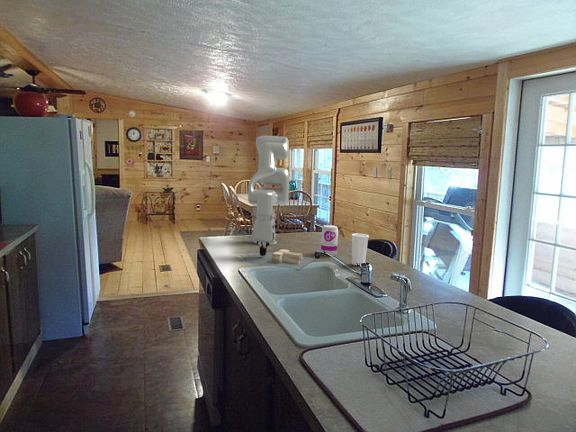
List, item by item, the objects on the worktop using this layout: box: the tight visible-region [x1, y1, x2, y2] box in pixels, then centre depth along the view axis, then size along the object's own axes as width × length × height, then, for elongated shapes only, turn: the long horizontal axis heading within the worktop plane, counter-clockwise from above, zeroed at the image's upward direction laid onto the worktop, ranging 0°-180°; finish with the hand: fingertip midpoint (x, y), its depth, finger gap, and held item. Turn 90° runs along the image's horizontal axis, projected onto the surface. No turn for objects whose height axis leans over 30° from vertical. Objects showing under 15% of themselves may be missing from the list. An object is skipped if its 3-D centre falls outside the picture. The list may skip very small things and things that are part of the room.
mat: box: [238, 250, 317, 271], centre depth 206 cm, size 24×30×1 cm
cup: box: [351, 233, 370, 266], centre depth 203 cm, size 8×8×14 cm
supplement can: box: [320, 224, 339, 257], centre depth 221 cm, size 8×8×15 cm
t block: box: [272, 248, 303, 264], centre depth 203 cm, size 12×12×4 cm
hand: (262, 255), depth 209 cm, fingers closed
